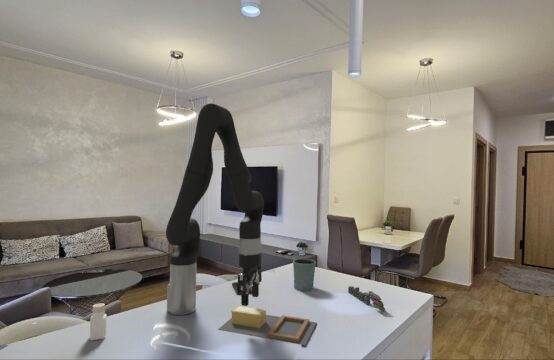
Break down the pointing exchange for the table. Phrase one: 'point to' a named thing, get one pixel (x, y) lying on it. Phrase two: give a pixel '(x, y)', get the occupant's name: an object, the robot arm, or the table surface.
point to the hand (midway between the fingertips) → (250, 300)
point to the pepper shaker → (98, 322)
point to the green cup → (304, 274)
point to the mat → (277, 329)
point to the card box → (249, 316)
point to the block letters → (367, 297)
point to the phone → (235, 286)
